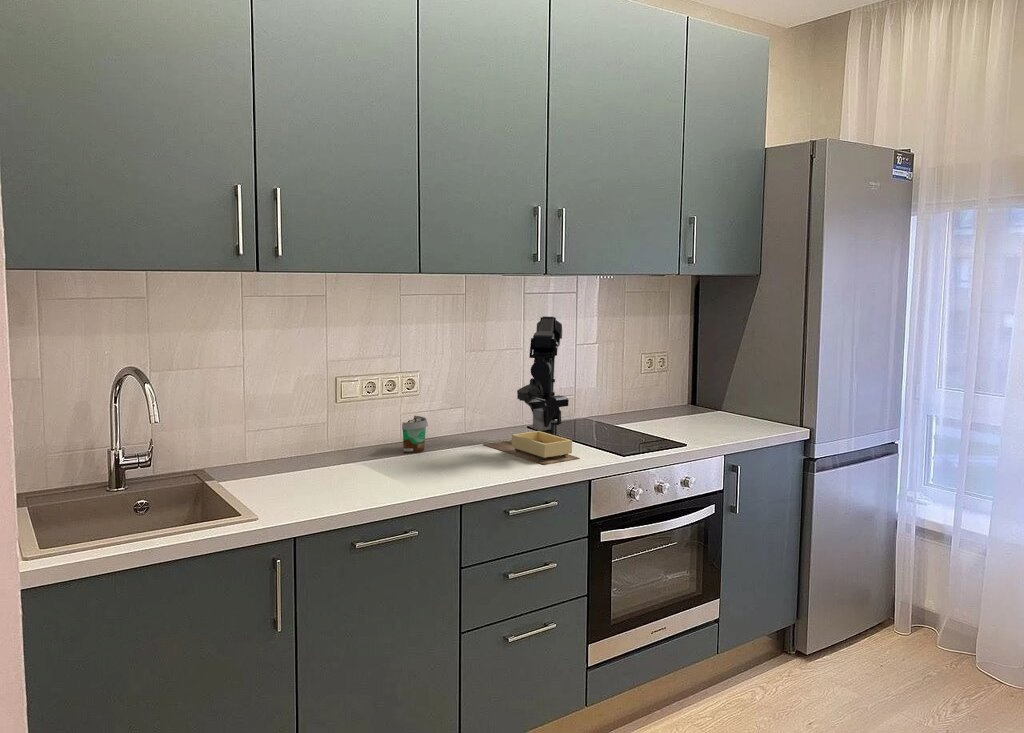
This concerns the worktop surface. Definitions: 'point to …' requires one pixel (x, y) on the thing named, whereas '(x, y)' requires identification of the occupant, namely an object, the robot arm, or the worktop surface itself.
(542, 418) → the charcoal block
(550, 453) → the wooden tray
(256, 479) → the worktop surface
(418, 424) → the food container
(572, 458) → the brown board
